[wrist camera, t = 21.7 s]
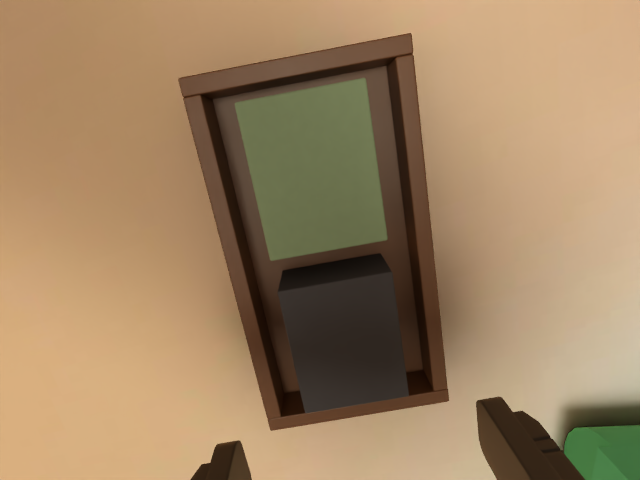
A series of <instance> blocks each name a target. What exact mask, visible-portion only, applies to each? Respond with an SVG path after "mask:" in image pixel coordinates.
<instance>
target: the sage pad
mask: <svg viewBox="0 0 640 480" xmlns="http://www.w3.org/2000/svg"><path fill="white" fill-rule="evenodd" d="M235 109H236V113H237V118H238V122H239V126H240V131H241V135H242V140H243V144H244V148H245V153H246V157H247V161H248V166H249V170H250V174H251V179H252V183H253V188H254V192H255V196H256V201H257V205H258V209H259V214H260V218H261V223H262V227H263V231H264V236H265V240H266V244H267V249H268V253H269V257H270V260H271V261H274V260H280V259H285V258H291V257H297V256H302V255H308V254H313V253H319V252H325V251H330V250H336V249H341V248H347V247H352V246H358V245H364V244H369V243H375V242H380V241H386V240H387V239H388V236H387V229H386V222H385V214H384V207H383V200H382V192H381V185H380V177H379V170H378V163H377V155H376V148H375V141H374V133H373V126H372V119H371V111H370V104H369V97H368V89H367V82H366V79H365V78H360V79H355V80H349V81H344V82H339V83H334V84H328V85H323V86H318V87H313V88H308V89H302V90H297V91H292V92H287V93H282V94H276V95H271V96H266V97H261V98H255V99H250V100H245V101H240V102H236V103H235Z"/></svg>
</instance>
